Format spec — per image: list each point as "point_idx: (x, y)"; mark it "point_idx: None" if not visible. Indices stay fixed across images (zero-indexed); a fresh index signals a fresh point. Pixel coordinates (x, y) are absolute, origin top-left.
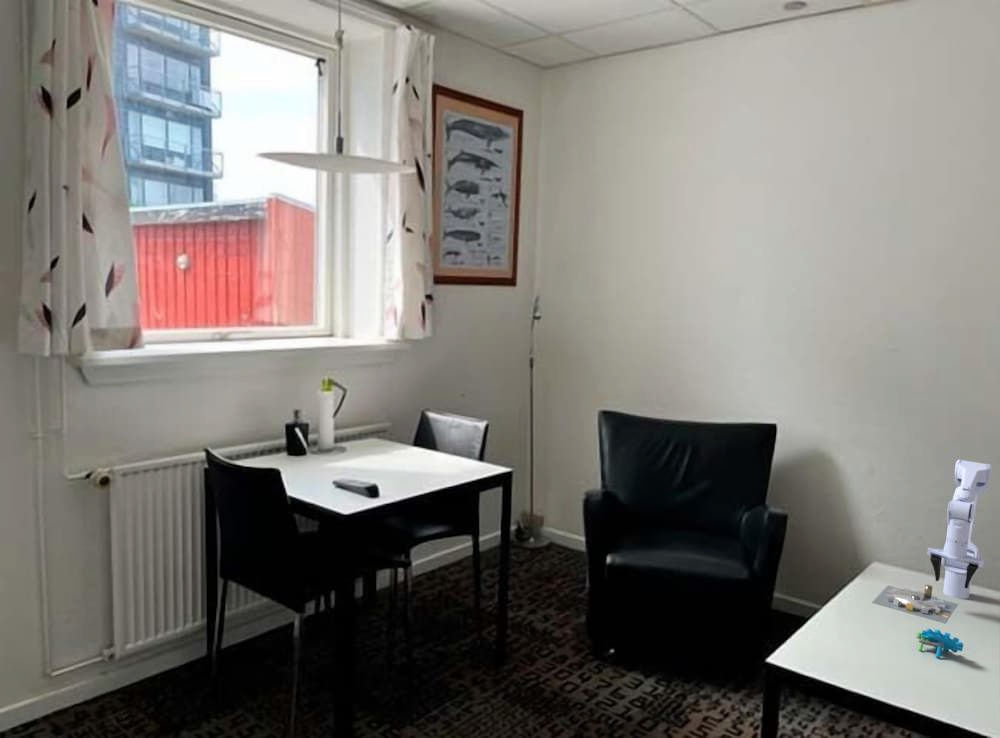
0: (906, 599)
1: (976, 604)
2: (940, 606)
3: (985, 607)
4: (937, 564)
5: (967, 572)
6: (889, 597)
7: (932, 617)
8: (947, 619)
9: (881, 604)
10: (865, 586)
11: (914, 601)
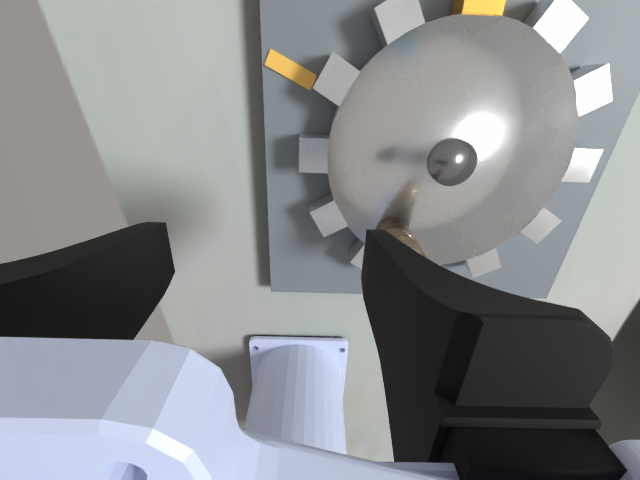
0: (501, 95)
1: (227, 354)
2: (318, 137)
3: (196, 348)
4: (441, 295)
5: (13, 279)
6: (598, 65)
7: None
8: (262, 17)
9: None
10: (637, 247)
11: (456, 96)
